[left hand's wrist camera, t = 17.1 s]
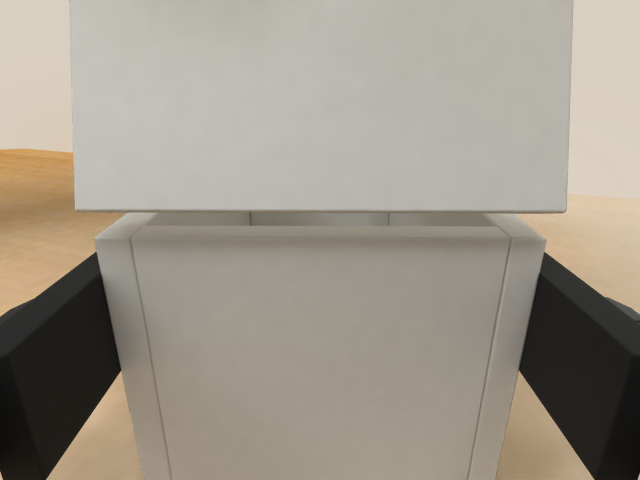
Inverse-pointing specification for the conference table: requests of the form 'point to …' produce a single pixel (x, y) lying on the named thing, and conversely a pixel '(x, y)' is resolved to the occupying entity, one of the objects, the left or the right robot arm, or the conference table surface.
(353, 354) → the chest
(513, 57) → the lid
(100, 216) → the conference table surface
